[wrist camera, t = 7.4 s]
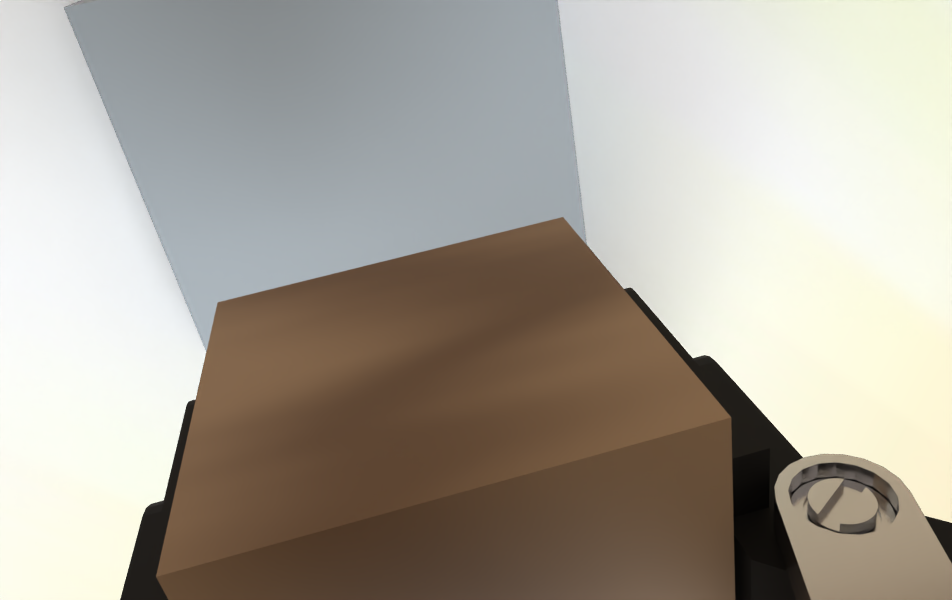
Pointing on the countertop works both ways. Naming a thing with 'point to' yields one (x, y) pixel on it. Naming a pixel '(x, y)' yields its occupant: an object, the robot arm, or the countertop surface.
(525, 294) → the walnut cube
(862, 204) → the countertop surface
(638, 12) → the countertop surface
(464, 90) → the grey base block
